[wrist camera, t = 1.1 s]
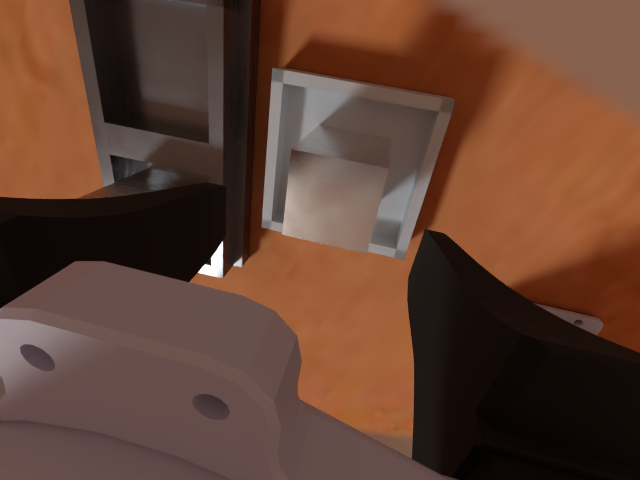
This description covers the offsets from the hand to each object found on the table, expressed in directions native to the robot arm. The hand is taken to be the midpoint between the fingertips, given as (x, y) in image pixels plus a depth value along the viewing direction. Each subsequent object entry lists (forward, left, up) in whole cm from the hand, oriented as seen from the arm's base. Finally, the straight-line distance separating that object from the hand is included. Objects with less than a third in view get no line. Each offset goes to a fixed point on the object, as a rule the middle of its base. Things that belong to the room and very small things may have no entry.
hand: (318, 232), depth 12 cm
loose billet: (0, 0, -9) cm, 9 cm away
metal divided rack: (+10, +1, -9) cm, 14 cm away
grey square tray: (0, 0, -9) cm, 9 cm away
